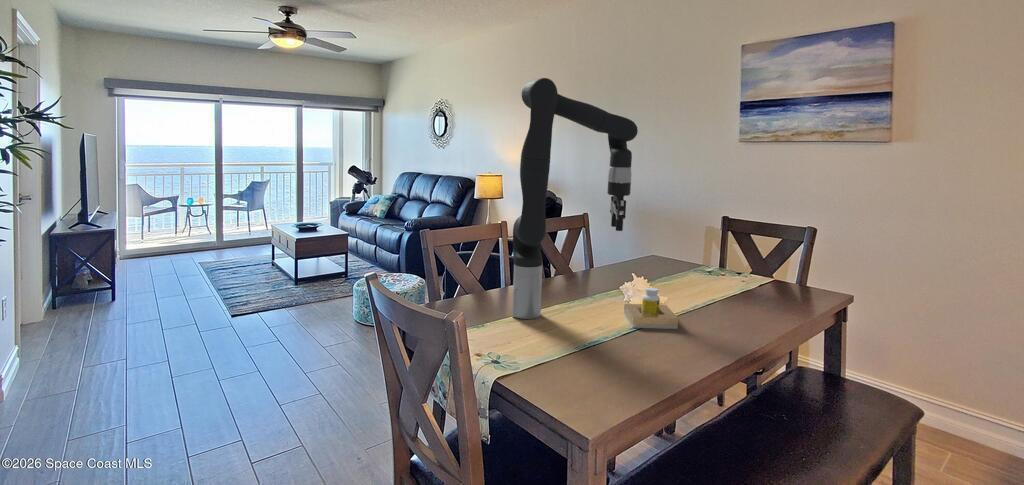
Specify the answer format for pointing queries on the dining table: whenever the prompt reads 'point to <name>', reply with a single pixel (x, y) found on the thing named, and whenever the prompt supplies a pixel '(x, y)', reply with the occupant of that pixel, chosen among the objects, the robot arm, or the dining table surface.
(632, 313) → the block
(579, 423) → the dining table surface
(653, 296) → the supplement bottle
